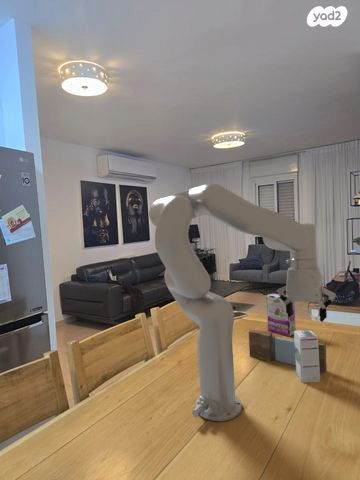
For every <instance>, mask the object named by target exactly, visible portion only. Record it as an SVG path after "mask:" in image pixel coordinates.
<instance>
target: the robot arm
mask: <svg viewBox="0 0 360 480" xmlns="http://www.w3.org/2000/svg"><path fill="white" fill-rule="evenodd" d="M148 216H149V219H150V222H151V223H152V225H153V226H155V231H154V232H155V233H154V247H155V249H156V253H157V255H158V257H159V258H160V261H161V262H162V264H163V266H164V267H165V270H164V275H163V276H164V277H163V278H164V283H165V285H166V287H167V289H168V290H169V292H170V293H171V295H172V297H173V298H174V300H175V301H176V303H177V304H178V306H179V307H180V309H181V310H182V312H183V313H184V314H185V316H186V317H187V318H188V319H190V320H192V321H193V322H194V323H195V324H197V325H198V328H199V331H198V336H197V342H196V344H197V359H198V374H199V375H198V377H199V390H200V391H199V392H200V396H199V397H198V398H197V399H196V401H195V408H194V409H192V410H191V411H192V413H191V414H192V416H193V417H194V418H198V417H199V416H201V417H202V418H204V419H206V420H208V421H213V422H226V421H229V420H233V419H234V418H236V417H237V416H239V415H240V413H241V411H242V401H241V399H240V398H239V397H238V396H237V395H236V388H235V385H236V384H235V371H234V370H235V367H234V352H233V348H234V347H233V330H234V322H235V311H234V308H233V306H232V304H231V303H230V302H229V301H228V300H227V299H226V298H225V297H223V296H221V295H219V294H217V293H213V292H212V291H210V290H211V286H212V285H211V277H210V275H209V273H208V271H207V270H206V268H205V267H204V265H203V263H202V262H201V260H200V259H199V257H198V255H197V254H196V252H195V250H194V248H193V246H192V244H191V243H190V239H189V230H190V226H191V223H192V220H193V219H195V218H198V217H201V216H208V217H210V218H212V219H215V220H216V221H219V222H220V223H223V224H224V225H226V226H228V227H230V228H232V229H234V230H235V231H237V232H240V233H244V234H247V235H252V236H259V237H262V241H263V244H265V246H266V247H268V248H269V249H271V250H276V251H282V252H285V251H286V252H289V256H290V257H289V259H286V260H285V263H286V265H289V267H288V268H287V272H286V273H287V274H286V285H284V286H282V287H280V288H278V289H276V293H277V294H279V296H280V298H281V299H282V301H283V302H284V304H286V313H288V317H291V316H292V315H293V303H292V302H291V301H292V300H293V301H294V302H301V303H302V302H303V303H305V302H306V303H314V304H315V303H317V304H318V306H319V321H320V322H322V323H323V322H324V321H325V320H326V319H327V316H328V315H327V307H329V305H331V304H332V303H333V302H334V300H335V298H336V295H337V294H336V293H335V292H333V291H331V290H329V289H327V288H326V287H324V285H323V279H322V274H321V270H320V267H318V263H317V262H318V259H317V241H316V240H317V239H316V226H315V225H314V224H313V223H308V222H307V223H305V222H304V223H301V222H298V221H296V219H295V220H294V219H293V218H291V217H289V216H287V215H285V214H282V213H280V212H276V211H274V210H270V209H268V208H266V207H263V206H260V205H256V204H254V203H253V202H250V201H248V200H247V199H245V198H243V197H241V196H239V195H238V194H236V193H234V192H233V191H231V190H230V189H227V188H226V187H224V186H222V185H220V184H218V183H214V182H212V183H205V184H201V185H198V186H195V187H192V188H190V189H187V190H183V191H181V192H177V193H174V194H171V195H168V196H165V197H161V198H159V199H156V200H155V201H154V202H153V203H152V204H151V205H150V207H149V211H148ZM284 291H285V292H286V293H284ZM285 294H286V296H287V297H286V296H285ZM324 295H326V296H328V299H327V300H325V299H324Z"/></svg>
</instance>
